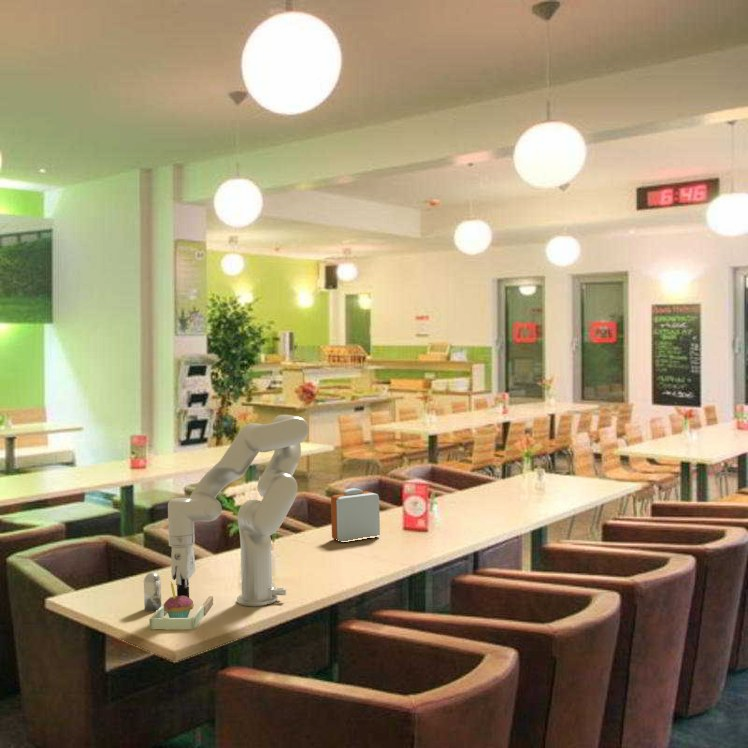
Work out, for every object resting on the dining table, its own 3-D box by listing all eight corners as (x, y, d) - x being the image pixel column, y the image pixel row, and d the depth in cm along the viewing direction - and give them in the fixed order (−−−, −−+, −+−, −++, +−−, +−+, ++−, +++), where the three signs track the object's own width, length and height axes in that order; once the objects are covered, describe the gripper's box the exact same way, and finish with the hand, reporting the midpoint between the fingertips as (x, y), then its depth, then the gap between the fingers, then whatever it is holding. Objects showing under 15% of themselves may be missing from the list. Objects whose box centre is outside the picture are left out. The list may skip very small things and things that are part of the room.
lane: (213, 604, 258) (213, 596, 258) (205, 615, 247) (205, 607, 247) (170, 604, 258) (170, 596, 258) (160, 616, 248) (160, 607, 248)
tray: (204, 615, 247) (203, 605, 247) (194, 629, 235) (194, 618, 235) (161, 615, 248) (161, 606, 248) (149, 629, 236) (149, 619, 236)
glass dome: (163, 606, 257) (162, 570, 257) (158, 611, 252) (157, 575, 252) (147, 606, 257) (146, 570, 257) (142, 611, 252) (141, 575, 252)
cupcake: (171, 627, 237) (169, 585, 237) (159, 620, 244) (157, 579, 244) (198, 620, 242) (197, 580, 242) (186, 613, 249) (185, 574, 249)
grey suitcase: (370, 534, 350) (369, 485, 350) (380, 537, 343) (379, 488, 342) (331, 539, 341) (330, 490, 340) (341, 544, 333) (339, 493, 333)
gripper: (187, 545, 241) (189, 608, 241) (200, 533, 256) (201, 592, 256) (162, 545, 241) (163, 608, 241) (176, 534, 256) (177, 593, 256)
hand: (183, 600), depth 249 cm, fingers closed
